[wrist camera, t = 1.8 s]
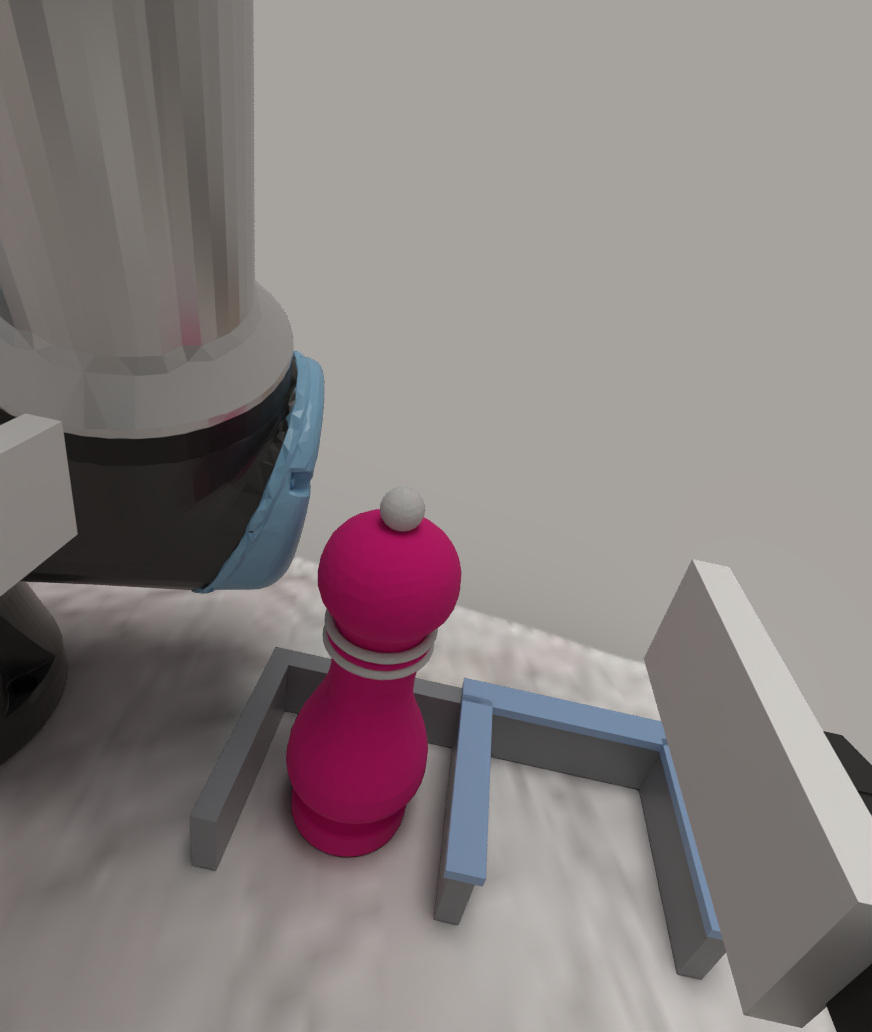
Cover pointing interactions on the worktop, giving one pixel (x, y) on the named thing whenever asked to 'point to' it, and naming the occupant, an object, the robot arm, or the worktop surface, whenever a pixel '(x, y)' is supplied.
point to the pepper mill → (371, 676)
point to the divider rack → (474, 740)
